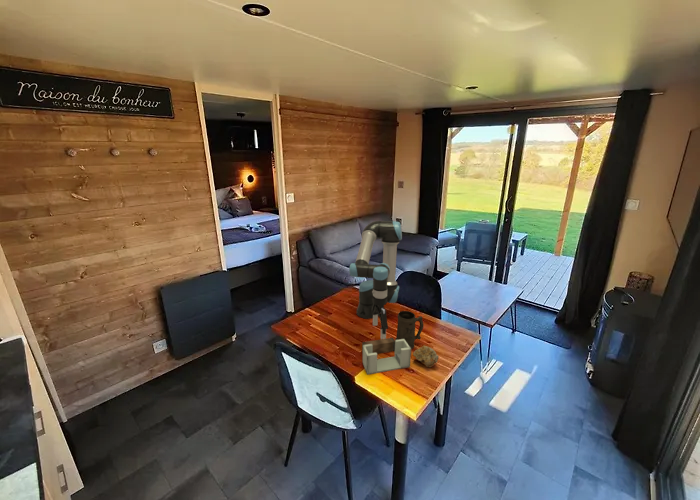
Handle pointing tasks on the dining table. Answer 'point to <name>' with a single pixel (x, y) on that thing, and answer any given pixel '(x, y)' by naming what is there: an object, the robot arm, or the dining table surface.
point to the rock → (426, 355)
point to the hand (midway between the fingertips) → (379, 331)
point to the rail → (381, 345)
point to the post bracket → (389, 363)
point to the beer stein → (408, 327)
